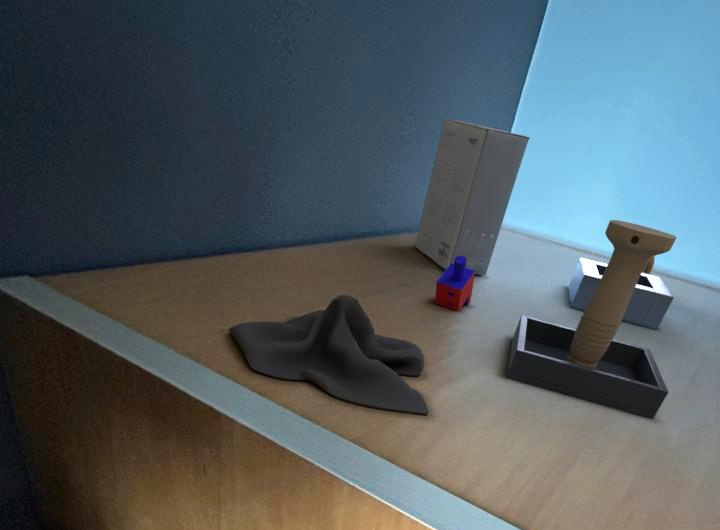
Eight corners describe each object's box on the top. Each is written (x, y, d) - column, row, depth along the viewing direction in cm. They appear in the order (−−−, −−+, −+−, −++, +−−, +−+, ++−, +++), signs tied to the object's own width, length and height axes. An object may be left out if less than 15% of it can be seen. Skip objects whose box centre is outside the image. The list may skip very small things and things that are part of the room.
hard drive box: (487, 277, 95) (531, 137, 83) (446, 272, 93) (486, 128, 81) (449, 250, 107) (484, 124, 95) (412, 246, 104) (443, 115, 92)
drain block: (645, 307, 98) (660, 277, 95) (657, 329, 87) (674, 297, 84) (568, 287, 100) (580, 257, 97) (570, 307, 89) (584, 274, 86)
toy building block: (433, 312, 80) (438, 263, 73) (447, 294, 81) (452, 244, 74) (456, 321, 79) (463, 272, 72) (470, 302, 80) (478, 252, 73)
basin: (637, 373, 70) (649, 349, 68) (653, 419, 59) (668, 392, 57) (512, 338, 72) (521, 314, 70) (506, 377, 61) (516, 350, 59)
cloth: (195, 344, 54) (196, 278, 50) (306, 308, 67) (313, 254, 64) (397, 438, 46) (416, 368, 43) (477, 376, 60) (497, 319, 56)
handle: (556, 354, 68) (615, 218, 59) (609, 374, 66) (679, 235, 57) (545, 365, 64) (605, 221, 55) (601, 386, 62) (673, 240, 53)
